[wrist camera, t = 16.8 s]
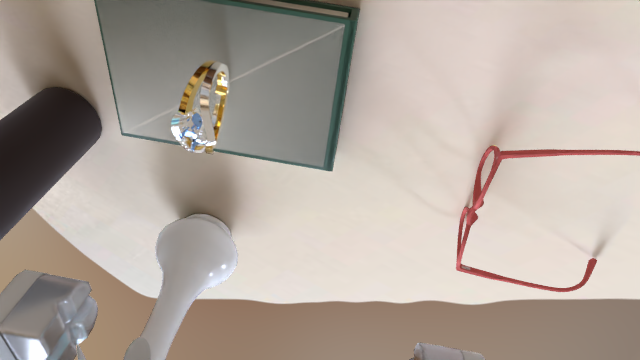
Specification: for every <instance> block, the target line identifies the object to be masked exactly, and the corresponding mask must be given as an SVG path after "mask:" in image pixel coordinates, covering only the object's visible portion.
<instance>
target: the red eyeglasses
mask: <svg viewBox="0 0 640 360" xmlns="http://www.w3.org/2000/svg"><path fill="white" fill-rule="evenodd" d="M492 150H494V162H493V165H492V169H491V171H490V174H489V176H488V178H487V181H486V183H485V185H484V187H483V189H482V191H481V171H482V168H483V165H484V162H485V160H486V158H487V156H488V155H489V153H490V152H491V151H492ZM559 155H640V152H638V151H623V150H519V151H501V152H500V150H499V148H498V147H496V146H490V147H489V148H488V149H487V150H486V152H485V153H484V155H483V157H482V159H481V161H480V164H479V167H478V170H477V174H476V179H475V185H474V192H473V206H472V207H471V208H468V207H465V208H464V210H463V212H462V215H461V219H460V225H459V233H458V245H457V263H456V270H458V271H461V272H465V273H469V274H473V275H477V276H481V277H485V278H489V279H493V280H499V281H505V282H509V283H514V284H519V285H523V286H528V287H533V288H538V289H543V290H549V291H556V292H569V291H573V290H577V289H579V288H581V287H582V286H583V285H585V283H586V282H587V281H588V279H589V277H590V275H591V273H592V271H593V269H594V267H595V265H596V262H597V260H596V259H594V258H592V259H590V260H589V262H588V265H587V269H586V272H585V275H584V278H583V280H582V281H581V282H580V283H579V284H577V285H575V286H573V287H569V288H554V287H548V286H543V285H538V284H533V283H528V282H524V281H520V280H515V279H511V278H507V277H503V276H500V275H496V274H493V273H490V272H486V271H482V270H479V269H475V268H472V267H468V266H465V265H462V264H461V259H462V255H463V251H464V248H465V244H466V241H467V237H468V234H469V230H470V227H471V225H472V224H473V223H474V222H475V221H476V220H477V219H478V216H477V214H476V213H475V211H476V210H477V209H478V208H480V207H482V206H483V204H484V201H483V198H484V196H485V193H486V191H487V189H488V187H489V185H490V183H491V181H492V179H493V177H494V175H495V173H496V171H497V169H498V166H499V164H500V162H501V160H502V159H507V158H521V157H542V156H559ZM466 212H467V224H466V229H465V233H464V237H463V240H462V244H461V237H462V228H463V222H464V218H465V214H466Z"/></svg>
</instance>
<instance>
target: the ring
mask: <svg viewBox="0 0 640 360" xmlns="http://www.w3.org/2000/svg"><path fill="white" fill-rule="evenodd" d="M216 75H217V80H218V84H217V86H216V94H217V96H216V102H215V108H214V112H213V116H212V119H211V116H210V111H209V95H210V90H211V86H212V83H213V81H214V79H215V77H216ZM203 80H204V81H203ZM202 81H203V84H202V88H201V94H200V109H201V113H200V112H199V111H200V110H199V109H198V108H194V109H193V110H192V107H193V102H194V99H195V96H196V93H197V91H198V88H199V86H200V85H201V83H202ZM229 88H230V84H229V71H228V67H227V66H226V65H225V64H222V63H220V62H217V61H213V60H210V61H207V62H205V63H204V64H202V65H201V66H200V67H199V68H198V69H197V70H196V72H195V73H194V74H193V76H192V77H191V79H190V81H189V82H188V84H187V86H186V89H185V91H184V93H183V96H182V99H181V102H180V106H179V110H178V113H177V114H175V115H174V117H173V118H172V121H171V128H172V132H173V134H174V136H175V138H176V139H177V140H178V142H179V143H180V144H181V145H182V147H183V148H184V149H186V150H187V151H190V152H195V153H201V152H203V151H204V150H205V151H206V153H208V154H214V151H215V148H216V144H217V141H218V137H219V133H220V129H221V125H222V121H223V116H224V112H225V106H226V101H227V94H228V93H229ZM182 121H183V122H184V123H183V124H182ZM185 127H186V128H185ZM203 128H205V131H206V134H205V131H204V130H203ZM192 136H193V140H192V141H191V140H190V138H189V137H192Z"/></svg>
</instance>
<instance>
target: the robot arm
mask: <svg viewBox="0 0 640 360" xmlns="http://www.w3.org/2000/svg"><path fill="white" fill-rule="evenodd" d="M91 290H92V289H91V287H90V284H89V282H87V281H82V280H77V279H71V278H66V277H61V276H55V275H50V274H47V273H41V272H35V271H29V270H24V271H22V272H21V273H19V274H17V275H16V276H15V277H14V279H13V280H12V281H11V282H10V283H9V284H8V286H7V287H6V288H5V289H4V290H3V291H2V292H1V294H0V360H74V359H75V357H76V355H77V350H76V345H77V344H78V343H80V342H82V341H83V340H85V339H86V338H87V337H88V336H89V334H90V332H91V331H92V329H93V327H94V324H95V321H96V318H97V312H98V311H97V310H98V308H97V304H96V301H95V300H94V299H93V298H92V297H90V296H89V294H90V292H91ZM410 360H485V358H484V357H483V355H482V354H480V353H475V352H470V351H464V350H459V349H455V348H449V347H443V346H437V345H431V344H425V343H418V344H417V345H416V347H415V349H414V358H411V359H410Z"/></svg>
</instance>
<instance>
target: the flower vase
mask: <svg viewBox="0 0 640 360" xmlns="http://www.w3.org/2000/svg"><path fill="white" fill-rule="evenodd" d="M155 252H156V259H157V262H158V264H159V267H160V269H161V271H162V286H161V290H160V294H159V296H158V299H157V301H156V304H155V306H154V308H153V310H152V313H151V315H150V317H149V319H148V321H147V323H146V325H145V327H144V330H143V332H142V333H141V335H140V337H139V338H137V339H135V340H134V341H133V342H132V343H131V344H130V345H129V347H128V349H127V351H126V353H125V356H124V360H166V357H167V354H168V351H169V349H170V346H171V344H172V341H173V339H174V337H175V335H176V333H177V331H178V329H179V327H180V325H181V323H182V320H183V318H184V316H185V315H186V313H187V311H188V309H189V307H190V306H191V304H192V303H193V301H194V300H195V299H196V297H197V296H198V295H199V294H200V293H201V292H202V291H204V290H205V289H208V288H211V287H214V286H216V285H219V284H221V283H222V282H224V281H225V280H226V279H227V278H228V277H229V276H230V275H231V274H232V273H233V271H234V269H235V267H236V266H237V262H238V252H237V248H236V245H235V243H234V241H233V239H232V236H231V233H230V230H229V229H228V227H227V226H226V225H225V224H224V223H223V222H222V221H220V220H219V219H217V218H215V217H213V216H210V215H206V214H194V215H190V216H188V217H186V218H184V219H179V220H176V221H174V222H172V223H170V224H168V225H166V226H165V227H164V228H163V230H162V231H161V232H160V233H159V235H158V238H157V241H156V246H155ZM77 355H78V360H86V358H85V356H84V354H83V353H82V351H81V349H80V347H79V345H78V344H77Z"/></svg>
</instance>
